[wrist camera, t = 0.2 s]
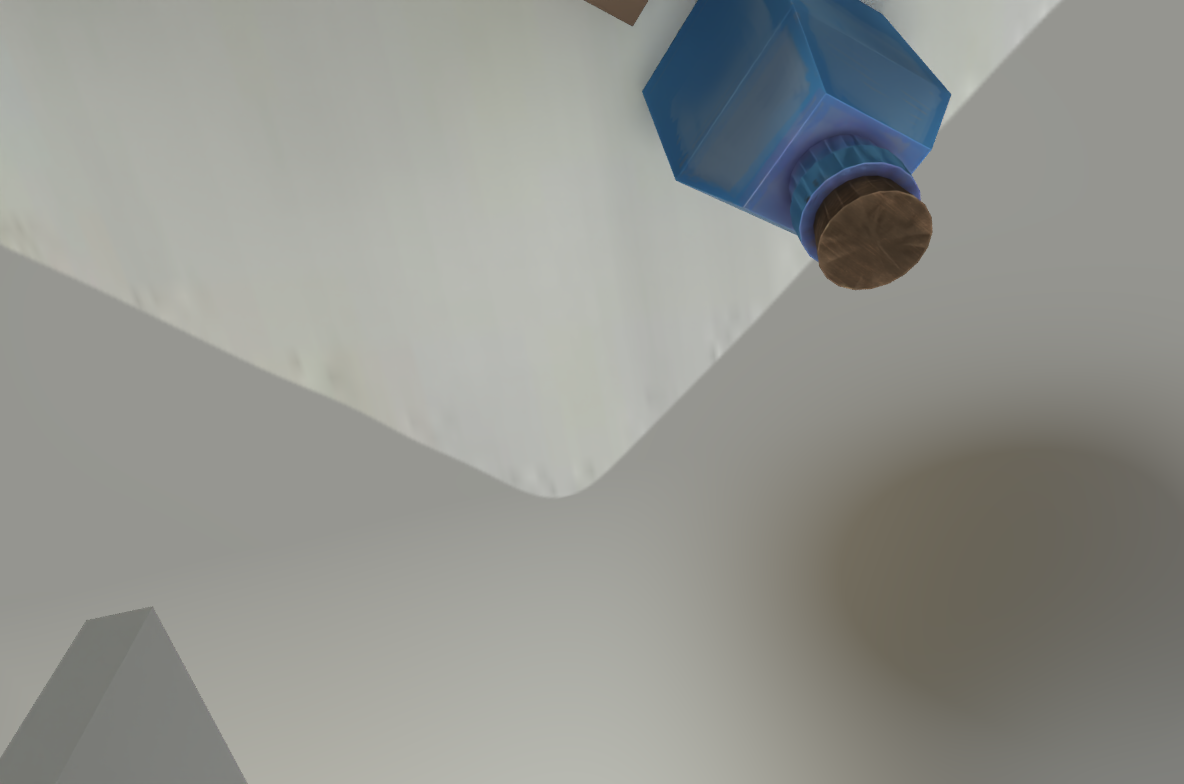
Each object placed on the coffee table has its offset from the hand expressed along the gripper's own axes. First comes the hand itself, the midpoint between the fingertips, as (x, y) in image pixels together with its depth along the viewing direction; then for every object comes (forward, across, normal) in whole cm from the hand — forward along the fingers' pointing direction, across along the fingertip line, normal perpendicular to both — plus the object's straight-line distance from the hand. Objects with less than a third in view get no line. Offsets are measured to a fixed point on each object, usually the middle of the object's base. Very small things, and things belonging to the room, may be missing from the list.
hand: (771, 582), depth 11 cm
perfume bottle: (+29, +5, 0) cm, 30 cm away
